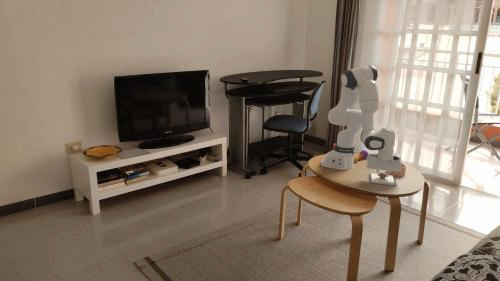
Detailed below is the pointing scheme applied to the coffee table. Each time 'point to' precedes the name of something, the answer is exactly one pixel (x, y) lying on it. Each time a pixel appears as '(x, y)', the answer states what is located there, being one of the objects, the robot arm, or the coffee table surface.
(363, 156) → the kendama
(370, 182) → the mat
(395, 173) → the bowl
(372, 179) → the lid
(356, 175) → the coffee table surface
